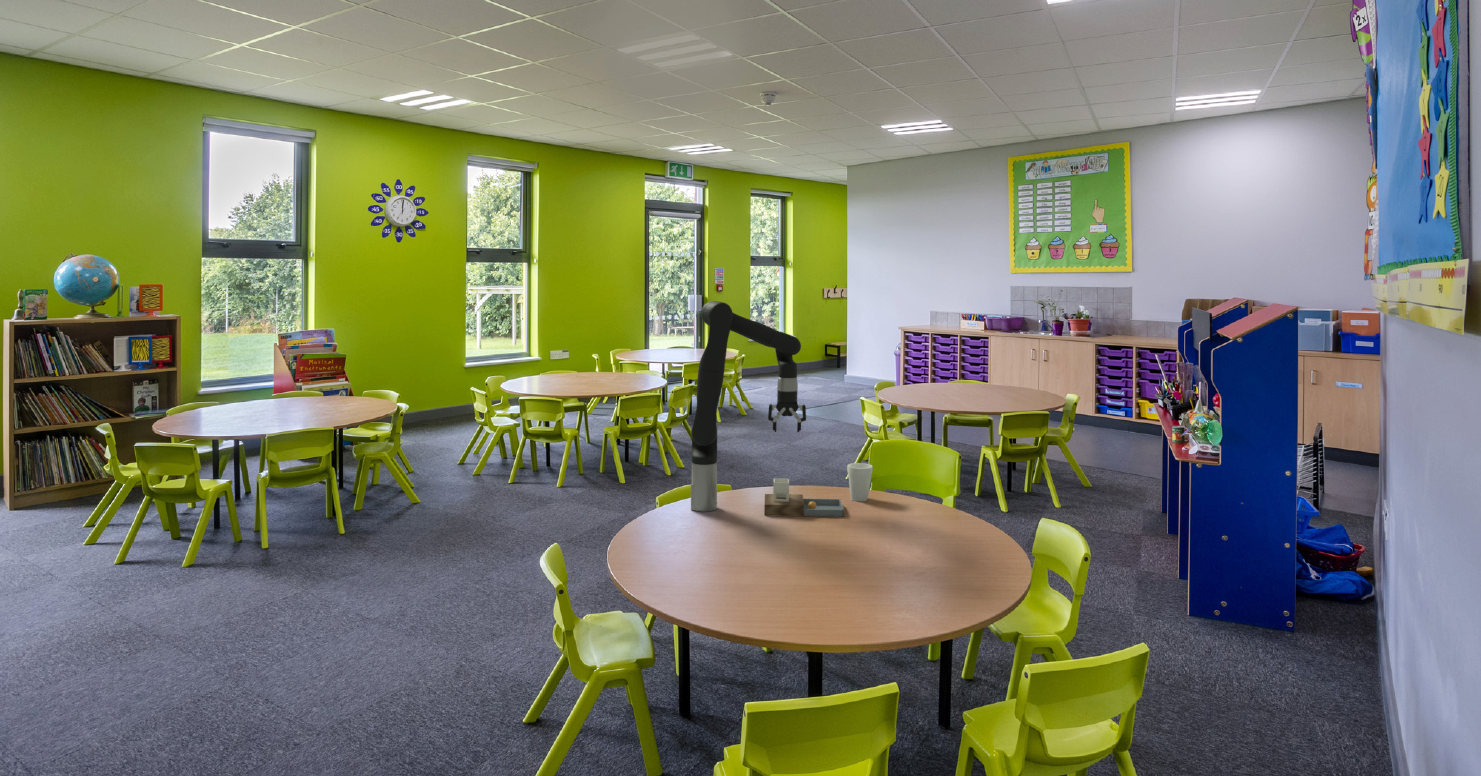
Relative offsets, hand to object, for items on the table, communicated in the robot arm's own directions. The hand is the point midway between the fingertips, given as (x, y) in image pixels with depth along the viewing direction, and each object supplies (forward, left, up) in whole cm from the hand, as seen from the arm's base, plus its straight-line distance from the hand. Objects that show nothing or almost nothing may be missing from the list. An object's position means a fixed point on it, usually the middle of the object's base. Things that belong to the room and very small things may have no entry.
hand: (786, 431), depth 293 cm
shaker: (-2, -15, -22) cm, 27 cm away
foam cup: (+28, +2, -26) cm, 38 cm away
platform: (-1, -15, -26) cm, 30 cm away
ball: (+9, -15, -24) cm, 30 cm away
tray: (+13, -15, -26) cm, 33 cm away
